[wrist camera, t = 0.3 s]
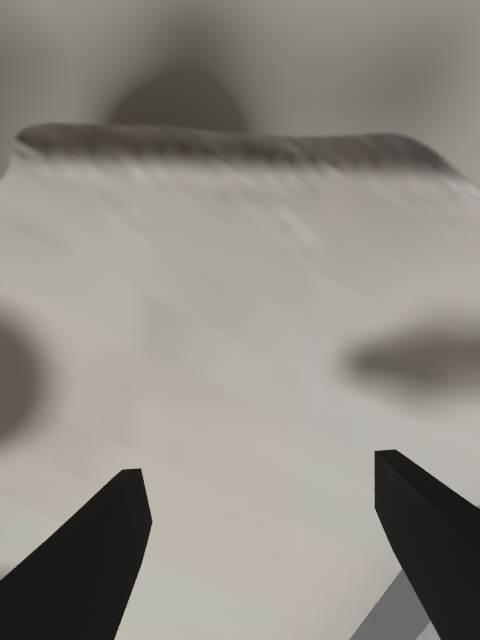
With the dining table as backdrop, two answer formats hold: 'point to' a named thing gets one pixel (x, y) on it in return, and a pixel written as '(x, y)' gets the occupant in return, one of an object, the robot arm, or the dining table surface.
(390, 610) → the camera body
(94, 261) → the dining table surface
